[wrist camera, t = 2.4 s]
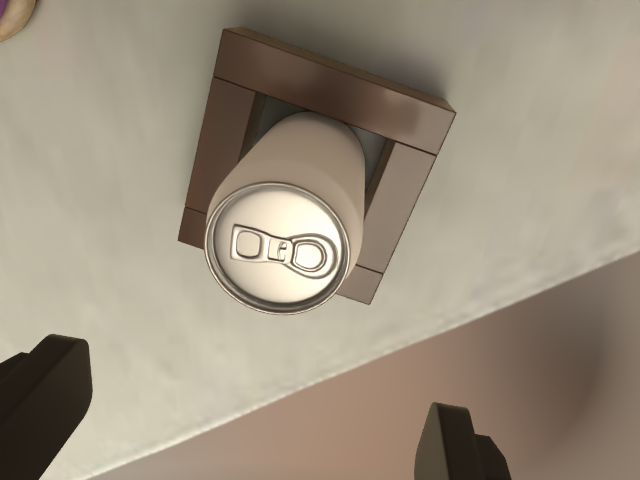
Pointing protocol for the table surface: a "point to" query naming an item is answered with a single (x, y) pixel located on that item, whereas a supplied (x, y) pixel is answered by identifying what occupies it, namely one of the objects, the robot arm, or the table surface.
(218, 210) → the can
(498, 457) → the robot arm
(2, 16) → the stacking toy
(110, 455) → the table surface
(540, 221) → the table surface
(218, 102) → the can stand
